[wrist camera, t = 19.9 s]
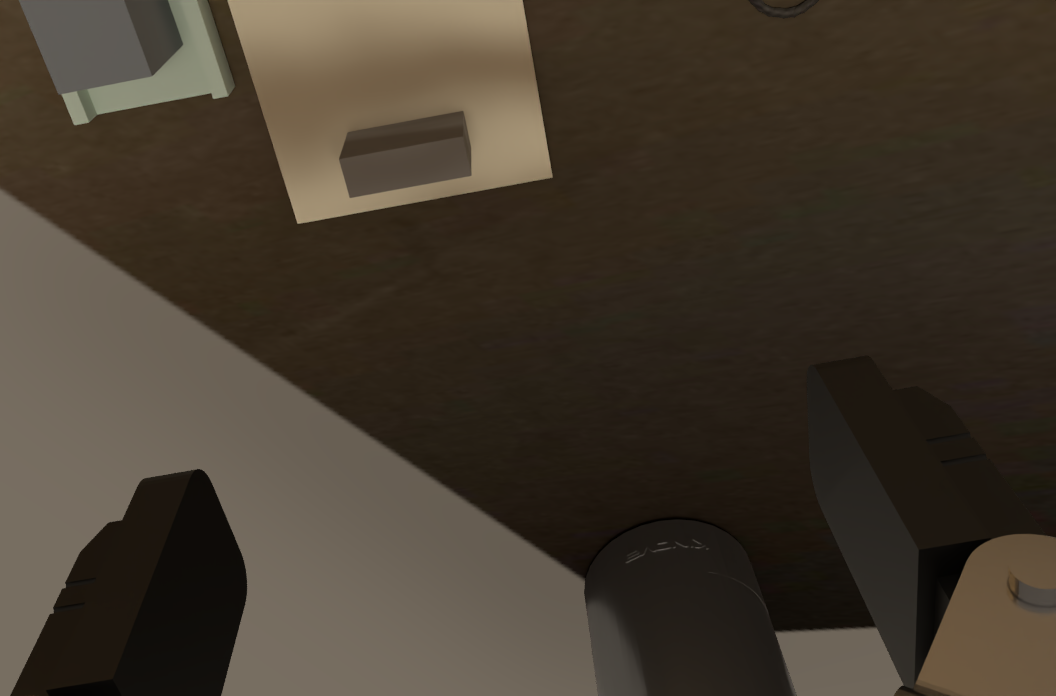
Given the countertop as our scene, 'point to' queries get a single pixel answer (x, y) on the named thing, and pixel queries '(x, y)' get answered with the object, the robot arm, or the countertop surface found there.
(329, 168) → the flat beige board
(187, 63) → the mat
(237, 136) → the countertop surface
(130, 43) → the long gray brick
